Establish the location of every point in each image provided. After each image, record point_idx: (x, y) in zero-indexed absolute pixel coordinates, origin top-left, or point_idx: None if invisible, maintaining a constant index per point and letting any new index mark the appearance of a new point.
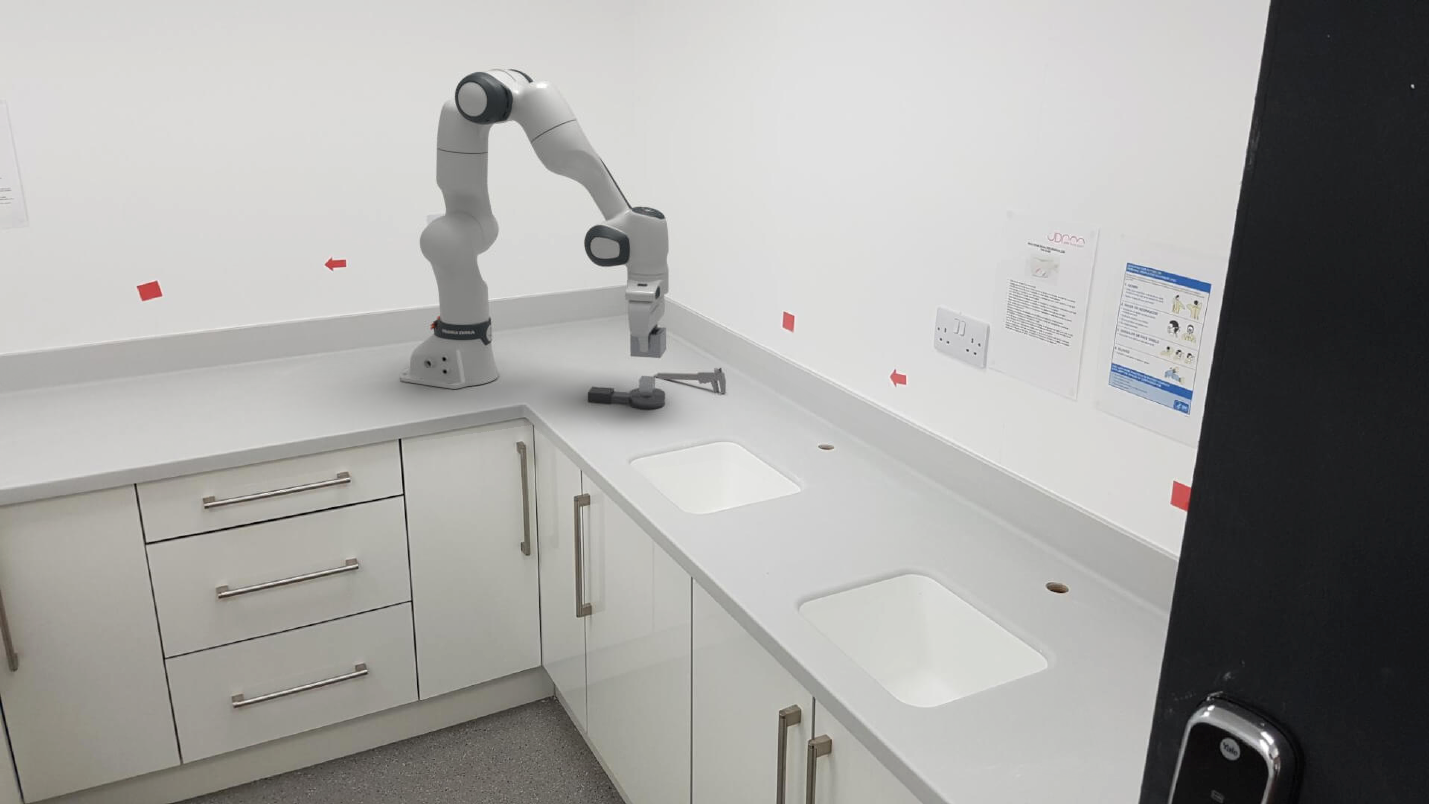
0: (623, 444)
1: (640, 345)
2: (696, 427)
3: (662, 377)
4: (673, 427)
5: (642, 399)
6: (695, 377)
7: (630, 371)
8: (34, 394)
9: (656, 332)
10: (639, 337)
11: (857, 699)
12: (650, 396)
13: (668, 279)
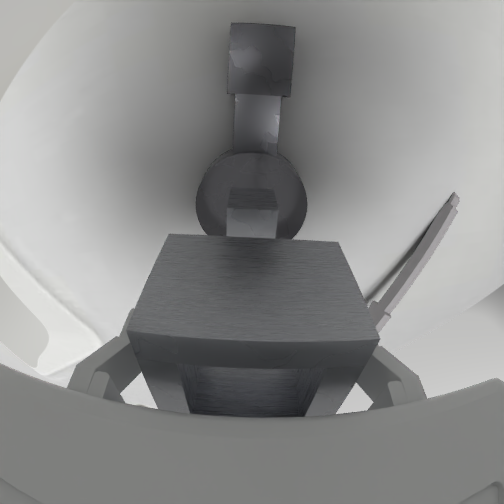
0: (15, 200)
1: (122, 332)
2: (133, 306)
3: (439, 216)
4: (115, 271)
5: (196, 202)
6: (385, 300)
7: (486, 139)
8: None
9: (300, 399)
10: (79, 371)
11: None
12: (224, 221)
13: None
